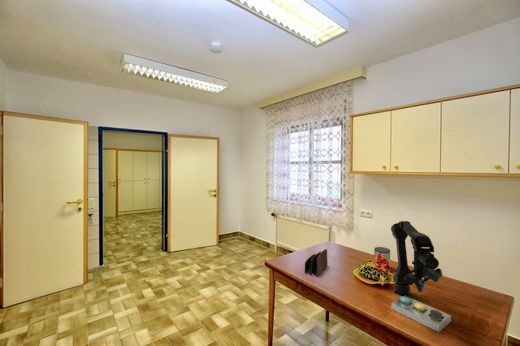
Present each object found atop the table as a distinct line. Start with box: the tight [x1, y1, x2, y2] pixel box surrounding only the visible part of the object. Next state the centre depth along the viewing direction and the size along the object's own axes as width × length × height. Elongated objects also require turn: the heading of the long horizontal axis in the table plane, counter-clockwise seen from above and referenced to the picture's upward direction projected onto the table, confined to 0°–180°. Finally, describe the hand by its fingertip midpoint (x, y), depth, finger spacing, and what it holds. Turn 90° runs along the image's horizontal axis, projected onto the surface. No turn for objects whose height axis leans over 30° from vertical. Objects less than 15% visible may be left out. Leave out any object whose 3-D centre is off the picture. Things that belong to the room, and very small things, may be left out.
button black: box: [430, 310, 442, 321], centre depth 113 cm, size 5×5×4 cm
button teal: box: [399, 296, 410, 306], centre depth 125 cm, size 5×5×4 cm
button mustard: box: [414, 303, 426, 313], centre depth 119 cm, size 5×5×4 cm
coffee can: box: [374, 246, 391, 265], centre depth 171 cm, size 10×10×14 cm
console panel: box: [391, 295, 452, 333], centre depth 119 cm, size 21×13×3 cm, turn 33°
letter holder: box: [304, 248, 329, 277], centre depth 171 cm, size 10×20×14 cm, turn 146°
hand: (420, 291), depth 118 cm, fingers closed
